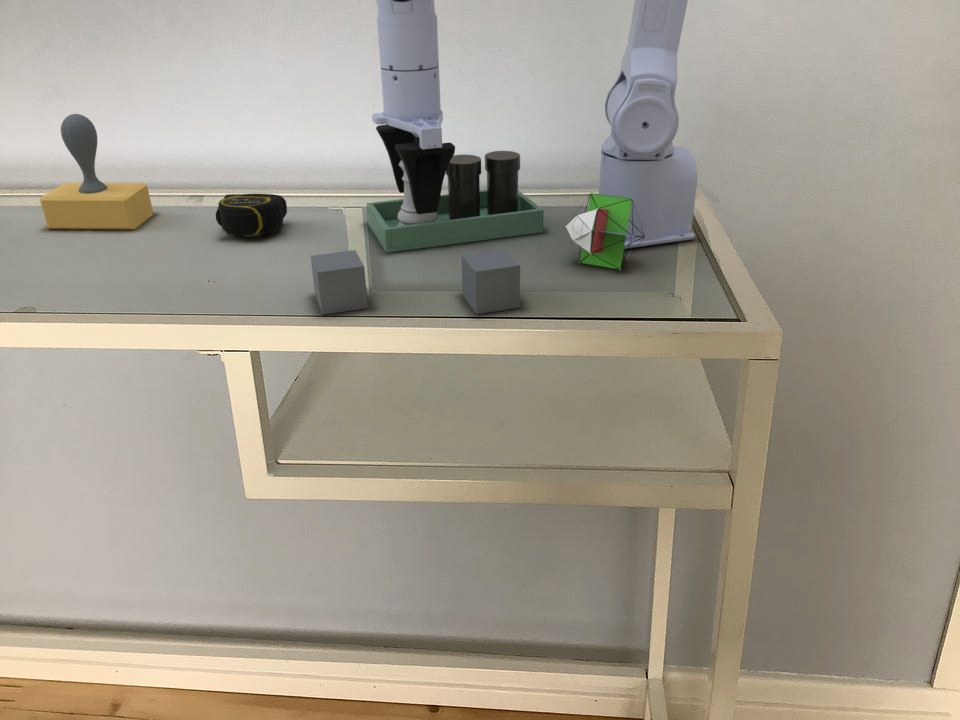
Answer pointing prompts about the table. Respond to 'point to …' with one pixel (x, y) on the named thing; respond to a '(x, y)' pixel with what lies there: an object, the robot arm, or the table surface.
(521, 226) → the tray
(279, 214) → the tape measure
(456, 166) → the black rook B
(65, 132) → the rubber stamp
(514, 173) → the black capped canister
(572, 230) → the geometric puzzle
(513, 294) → the grey cube
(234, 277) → the table surface
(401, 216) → the rook chess piece
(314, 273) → the grey cube
